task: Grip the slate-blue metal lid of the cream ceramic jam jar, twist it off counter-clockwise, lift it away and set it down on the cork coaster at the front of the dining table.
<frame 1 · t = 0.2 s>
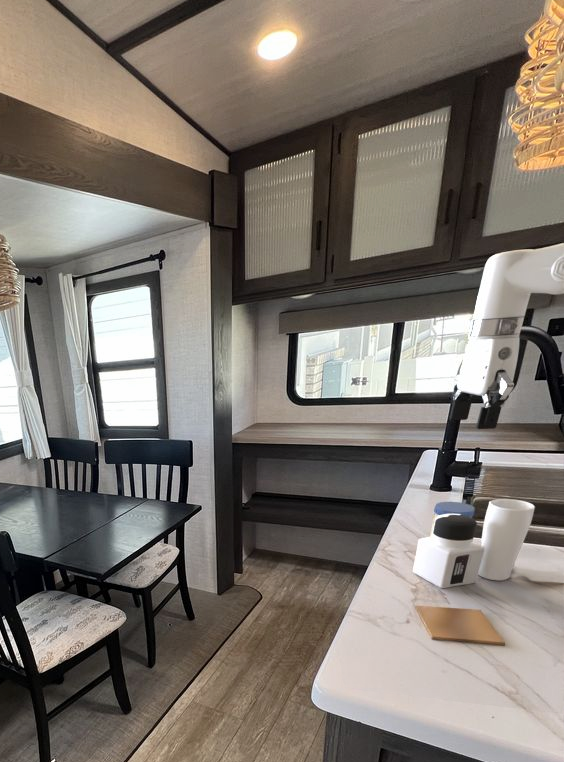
hand: (471, 423, 93), 28 cm above the counter, tool pointing down, fingers open, 9 cm apart
cork coaster: (456, 625, 79), on the counter
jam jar: (445, 546, 106), on the counter
container: (442, 578, 94), on the counter
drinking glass: (492, 576, 93), on the counter
lid: (454, 508, 102), point 9 cm above the counter, screwed on, not yet turned
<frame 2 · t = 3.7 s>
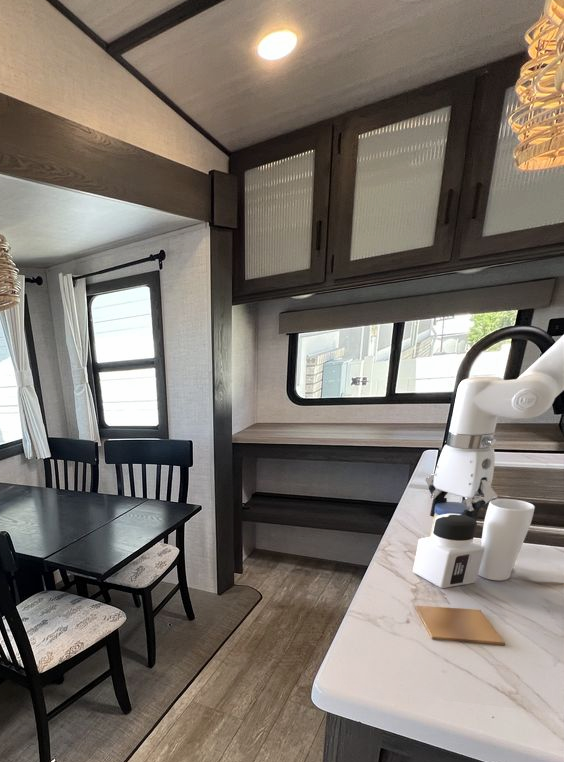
hand: (451, 520, 104), 6 cm above the counter, tool pointing down, fingers closed on lid, 7 cm apart
lid: (454, 508, 102), point 9 cm above the counter, screwed on, not yet turned, touching gripper
everything else where it was.
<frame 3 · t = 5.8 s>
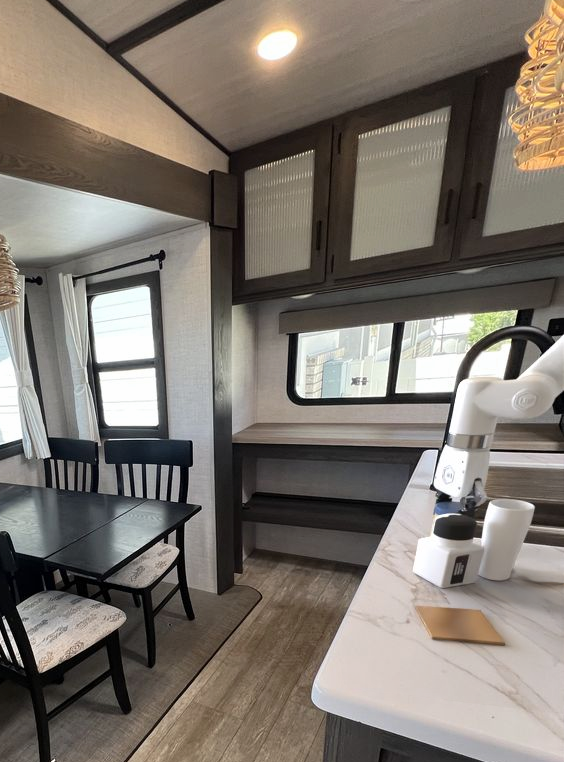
hand: (451, 520, 104), 6 cm above the counter, tool pointing down, fingers closed on lid, 7 cm apart
lid: (454, 507, 102), point 9 cm above the counter, off its thread, touching gripper
everything else where it was.
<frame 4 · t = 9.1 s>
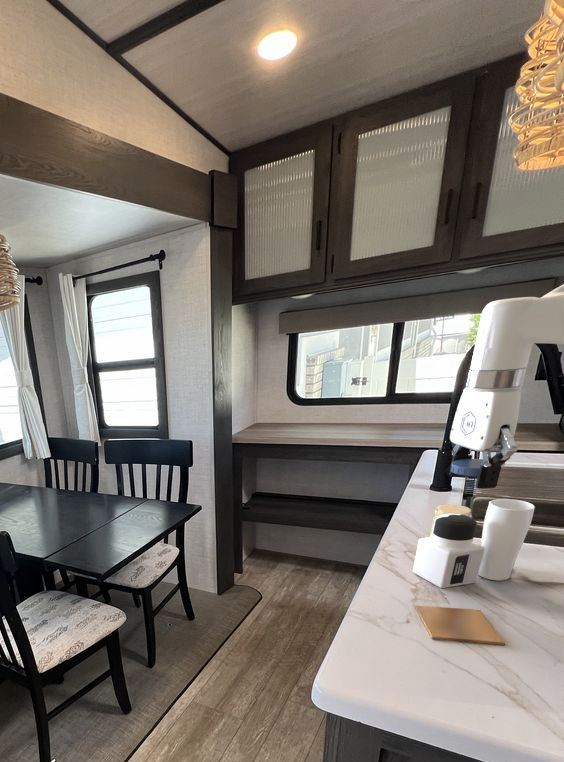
hand: (471, 481, 86), 20 cm above the counter, tool pointing down, fingers closed on lid, 7 cm apart
lid: (475, 465, 85), point 23 cm above the counter, off its thread, touching gripper
everything else where it was.
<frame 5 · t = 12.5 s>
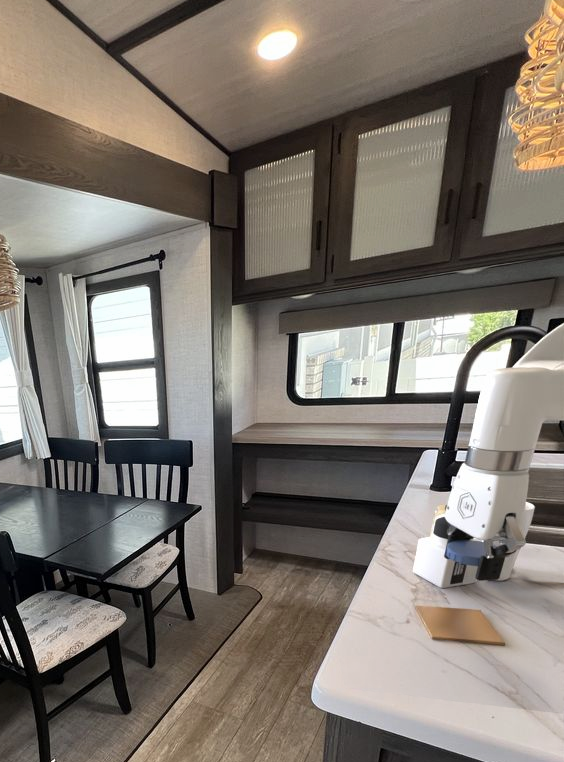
hand: (470, 567, 75), 11 cm above the counter, tool pointing down, fingers closed on lid, 7 cm apart
lid: (474, 550, 74), point 14 cm above the counter, off its thread, touching gripper
everything else where it was.
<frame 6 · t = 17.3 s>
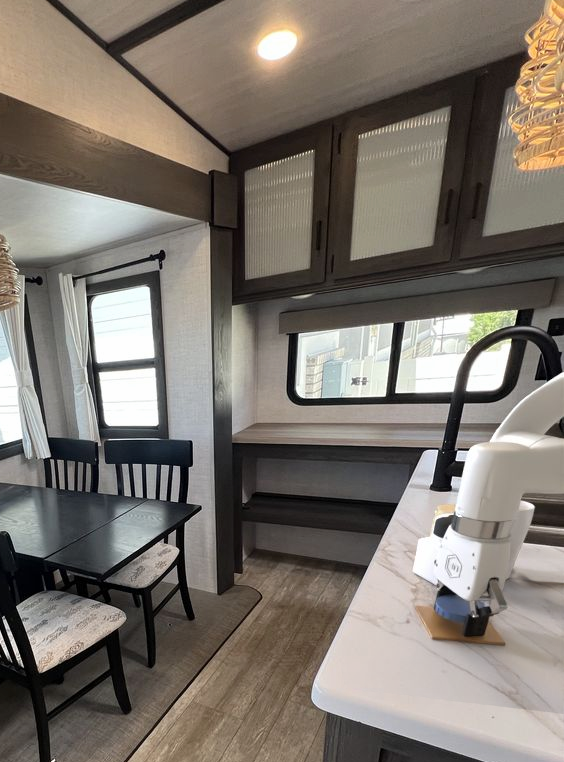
hand: (457, 621, 79), 1 cm above the counter, tool pointing down, fingers closed on lid, 7 cm apart
lid: (461, 606, 78), point 4 cm above the counter, off its thread, touching gripper
everything else where it was.
when the fingers open (1 cm above the counter, at t = 21.3 s): lid drops 2 cm, resting on cork coaster.
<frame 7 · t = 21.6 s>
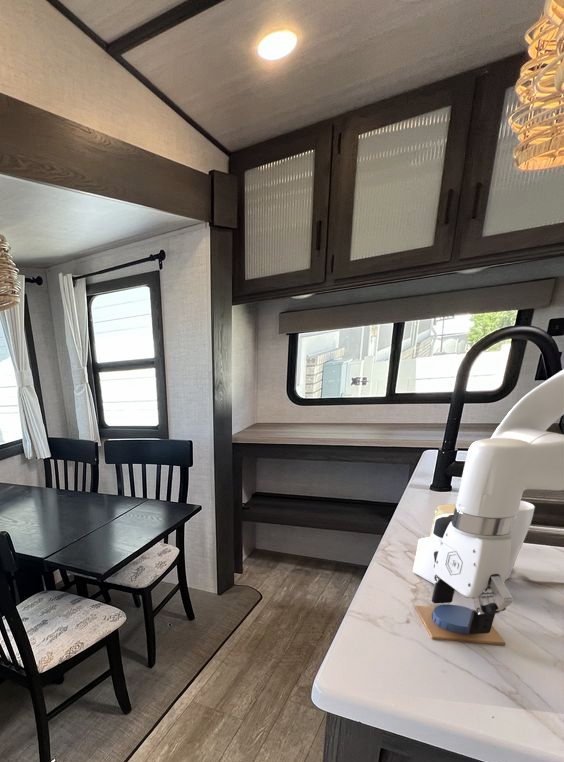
hand: (458, 616, 79), 2 cm above the counter, tool pointing down, fingers open, 9 cm apart
lid: (458, 617, 79), point 2 cm above the counter, off its thread, touching cork coaster
everything else where it was.
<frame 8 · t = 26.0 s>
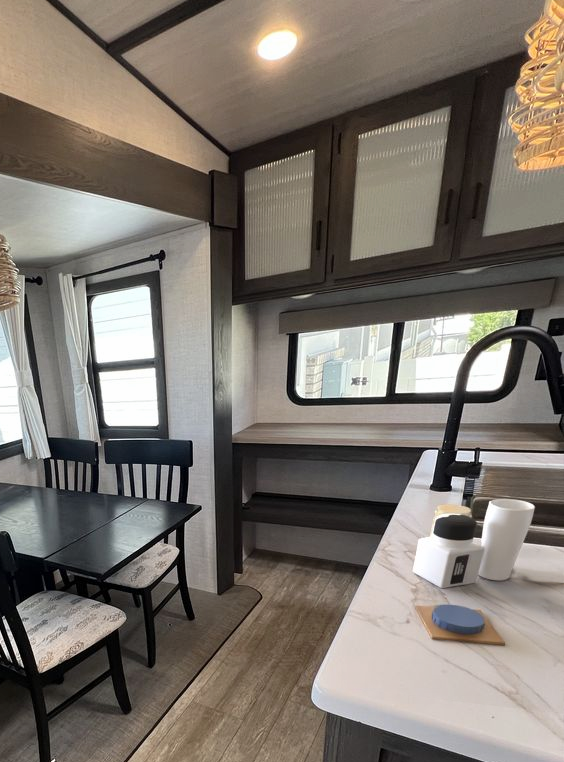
nothing on the counter moved.
at the end: lid inside the target area on the cork coaster (0.1 cm from its centre), point 1.6 cm above the cork coaster's base; lid point 1.6 cm above the counter; the gripper is holding nothing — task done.
